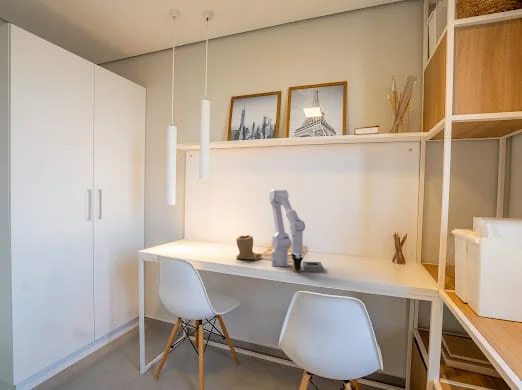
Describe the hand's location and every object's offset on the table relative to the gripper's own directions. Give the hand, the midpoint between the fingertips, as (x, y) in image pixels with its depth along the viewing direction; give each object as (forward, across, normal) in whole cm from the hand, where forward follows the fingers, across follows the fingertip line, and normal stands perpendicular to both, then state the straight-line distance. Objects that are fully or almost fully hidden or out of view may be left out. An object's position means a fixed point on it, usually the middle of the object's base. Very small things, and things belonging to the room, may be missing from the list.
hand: (296, 268), depth 152 cm
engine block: (+2, +4, -9) cm, 10 cm away
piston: (+2, 0, 0) cm, 2 cm away
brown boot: (+2, +24, +29) cm, 38 cm away
